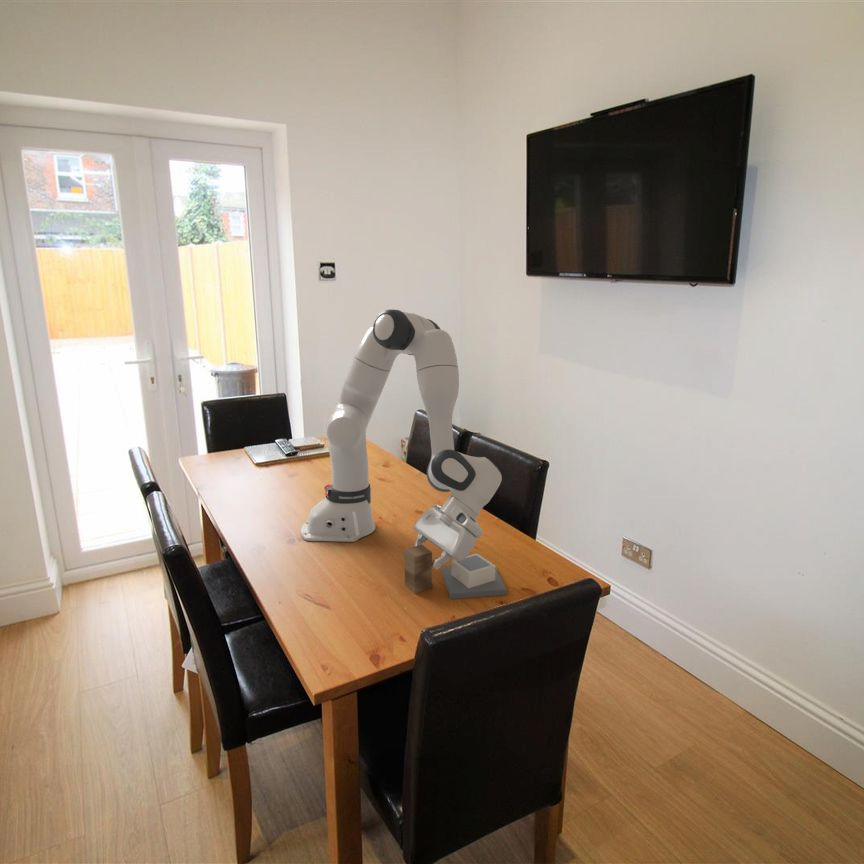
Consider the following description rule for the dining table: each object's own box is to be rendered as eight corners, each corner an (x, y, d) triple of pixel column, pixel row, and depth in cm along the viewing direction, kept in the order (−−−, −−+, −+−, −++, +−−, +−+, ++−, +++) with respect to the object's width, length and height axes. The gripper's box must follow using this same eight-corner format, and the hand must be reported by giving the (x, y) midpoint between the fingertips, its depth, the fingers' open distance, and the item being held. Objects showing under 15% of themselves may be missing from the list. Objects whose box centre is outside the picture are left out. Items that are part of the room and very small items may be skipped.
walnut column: (414, 593, 152) (414, 556, 149) (404, 585, 156) (404, 548, 153) (432, 588, 154) (432, 552, 152) (422, 580, 158) (421, 544, 156)
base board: (450, 599, 149) (450, 577, 148) (441, 571, 163) (441, 551, 161) (506, 594, 151) (507, 573, 150) (493, 568, 164) (493, 548, 163)
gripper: (428, 496, 163) (396, 538, 161) (472, 522, 146) (437, 570, 144) (442, 508, 166) (411, 549, 164) (487, 535, 150) (453, 582, 147)
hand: (424, 559), depth 154 cm, fingers open, 8 cm apart
